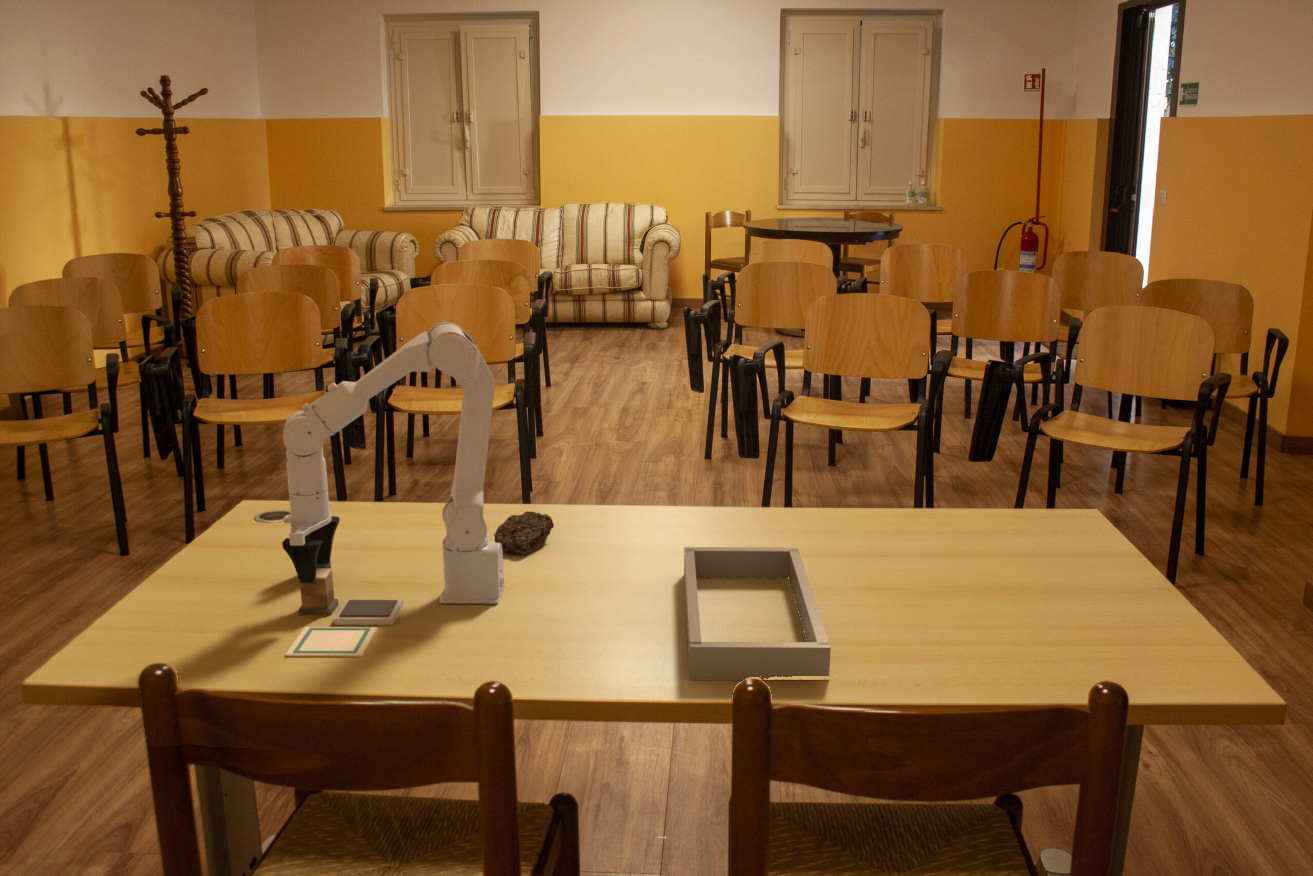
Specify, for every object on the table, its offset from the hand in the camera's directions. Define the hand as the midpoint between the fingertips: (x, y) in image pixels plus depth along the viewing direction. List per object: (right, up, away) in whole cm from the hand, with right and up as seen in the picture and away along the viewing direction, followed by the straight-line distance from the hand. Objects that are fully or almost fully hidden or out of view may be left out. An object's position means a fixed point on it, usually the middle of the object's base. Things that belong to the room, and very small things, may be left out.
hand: (315, 572), depth 172 cm
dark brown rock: (+29, +1, +29) cm, 41 cm away
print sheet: (+6, -9, -9) cm, 14 cm away
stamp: (0, -6, +2) cm, 6 cm away
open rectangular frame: (+68, -7, -2) cm, 68 cm away
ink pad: (+9, -7, 0) cm, 11 cm away
